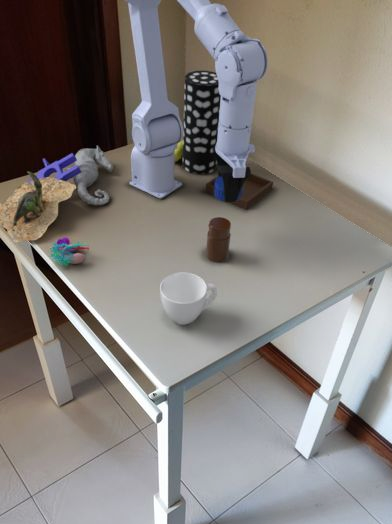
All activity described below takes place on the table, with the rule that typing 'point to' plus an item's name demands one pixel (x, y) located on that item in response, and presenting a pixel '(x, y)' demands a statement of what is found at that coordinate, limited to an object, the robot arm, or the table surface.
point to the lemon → (179, 152)
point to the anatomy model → (67, 248)
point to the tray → (248, 190)
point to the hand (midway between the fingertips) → (227, 193)
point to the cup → (185, 296)
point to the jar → (218, 239)
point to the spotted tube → (200, 121)
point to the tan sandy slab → (34, 207)
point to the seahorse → (90, 174)
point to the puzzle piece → (59, 169)
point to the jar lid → (222, 190)
